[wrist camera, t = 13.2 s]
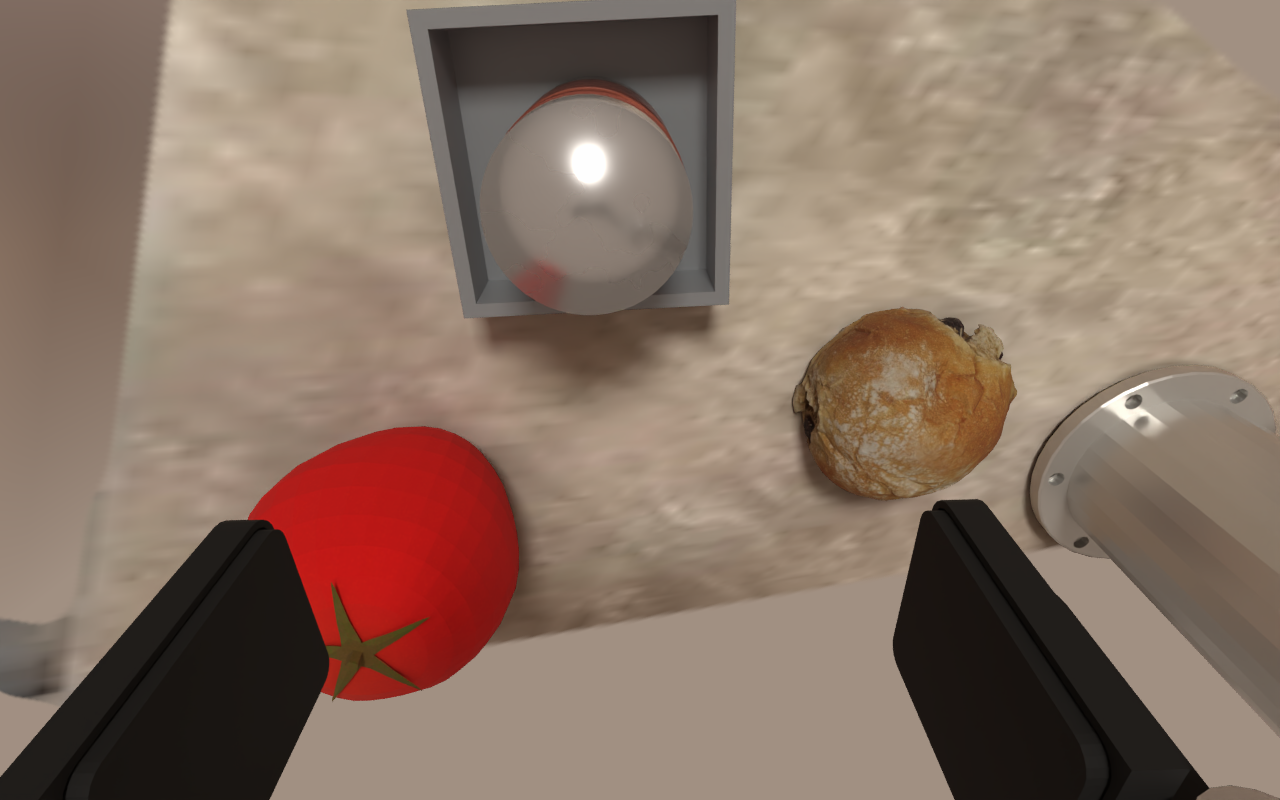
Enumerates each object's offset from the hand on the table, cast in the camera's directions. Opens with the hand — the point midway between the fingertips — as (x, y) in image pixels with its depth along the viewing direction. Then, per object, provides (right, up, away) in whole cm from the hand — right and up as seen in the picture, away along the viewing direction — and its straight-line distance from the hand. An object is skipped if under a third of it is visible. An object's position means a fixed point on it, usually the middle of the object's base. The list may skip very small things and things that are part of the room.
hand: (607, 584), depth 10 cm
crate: (-2, +13, +19) cm, 23 cm away
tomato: (-12, -1, +27) cm, 29 cm away
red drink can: (-1, +13, +18) cm, 22 cm away
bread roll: (+14, +4, +25) cm, 29 cm away
